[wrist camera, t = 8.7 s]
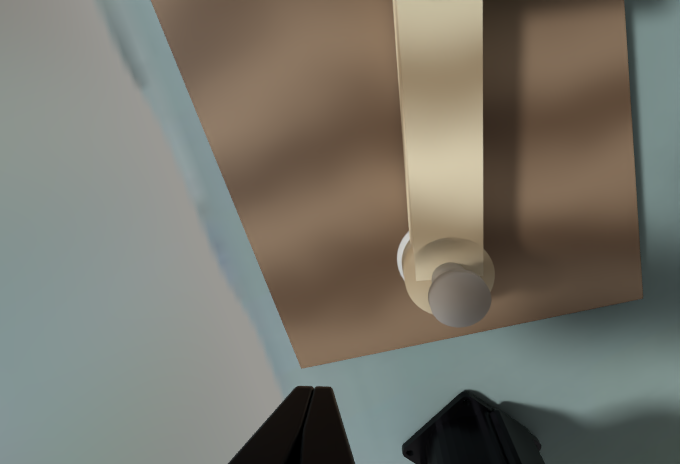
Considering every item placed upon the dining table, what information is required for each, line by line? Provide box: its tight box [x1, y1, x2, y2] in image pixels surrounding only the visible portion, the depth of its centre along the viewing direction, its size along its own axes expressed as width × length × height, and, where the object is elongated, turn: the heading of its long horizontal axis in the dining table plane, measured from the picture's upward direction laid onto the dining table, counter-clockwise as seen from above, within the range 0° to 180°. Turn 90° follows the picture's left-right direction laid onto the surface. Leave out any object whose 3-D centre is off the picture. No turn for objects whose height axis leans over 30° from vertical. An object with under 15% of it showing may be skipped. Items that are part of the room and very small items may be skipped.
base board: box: [151, 0, 643, 369], centre depth 17 cm, size 22×19×1 cm
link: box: [393, 0, 495, 327], centre depth 14 cm, size 20×4×4 cm, turn 7°
